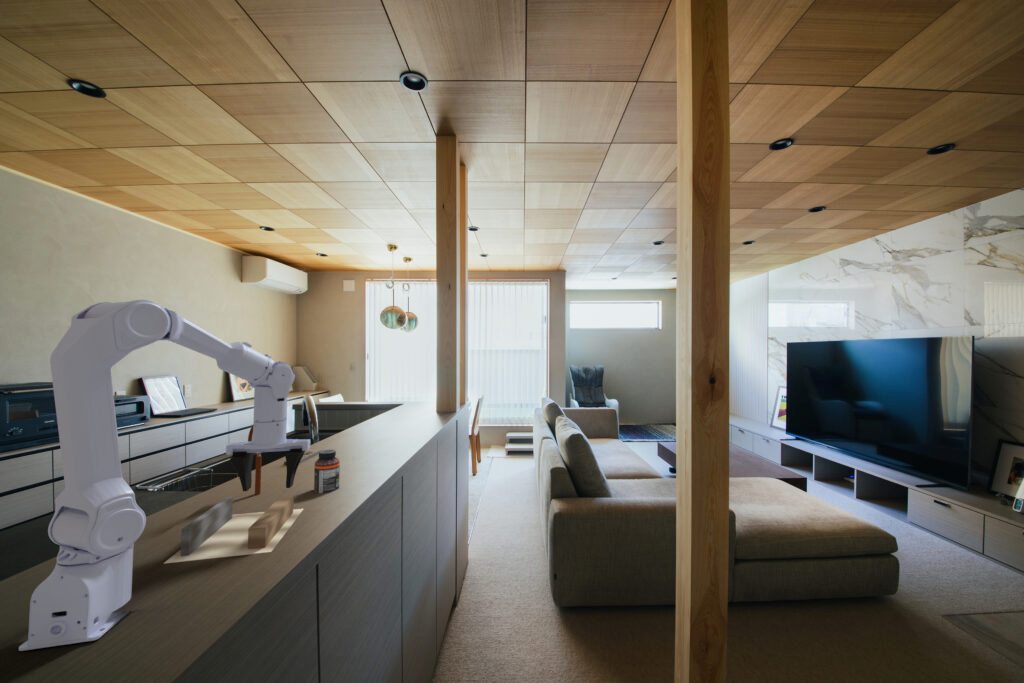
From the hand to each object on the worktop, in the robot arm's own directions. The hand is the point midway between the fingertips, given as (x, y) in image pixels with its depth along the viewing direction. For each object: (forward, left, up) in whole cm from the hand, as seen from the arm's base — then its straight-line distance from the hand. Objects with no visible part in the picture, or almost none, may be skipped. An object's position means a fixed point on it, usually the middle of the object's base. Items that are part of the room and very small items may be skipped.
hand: (268, 488), depth 77 cm
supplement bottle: (+22, -6, -10) cm, 25 cm away
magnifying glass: (+22, +10, -10) cm, 26 cm away
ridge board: (-1, +4, -10) cm, 10 cm away
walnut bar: (-1, -1, -8) cm, 8 cm away
